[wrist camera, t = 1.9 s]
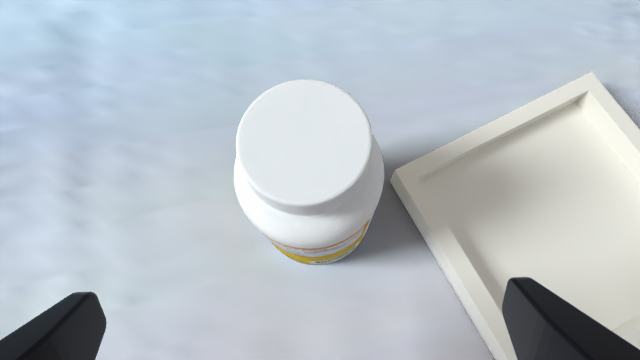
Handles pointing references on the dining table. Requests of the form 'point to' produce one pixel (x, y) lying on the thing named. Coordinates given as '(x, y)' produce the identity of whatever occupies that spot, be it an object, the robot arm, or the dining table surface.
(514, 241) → the dish
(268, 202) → the supplement bottle
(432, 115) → the dining table surface
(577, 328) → the robot arm
